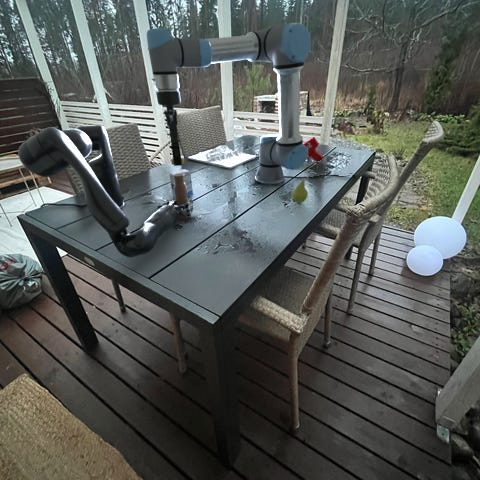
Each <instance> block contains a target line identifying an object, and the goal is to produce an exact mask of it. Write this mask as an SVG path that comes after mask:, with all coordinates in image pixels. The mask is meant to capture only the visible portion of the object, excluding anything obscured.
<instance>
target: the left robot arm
mask: <svg viewBox="0 0 480 480" xmlns="http://www.w3.org/2000/svg"><path fill="white" fill-rule="evenodd" d="M17 151H18V152H17V154H18V158H19V161H20V163H21V164H22V165H23V167H24V168H25V169H26V170H27V171H29V172H31V173H32V174H34V175H36V176H39V177H43V178H52V177H54V176H56V175H58V174H60V173H61V172H62V171H64V170H66V169H67V168H69V167H71V169H73V170H74V171H75V173H76V174H77V176H78V178H79V180H80V182H81V186H82V188H83V189H82V190H83V194H84V198H85V204H77V203H52V202H45V203H42V204H41V205H40V206H39V208H40V209H41V208H43V207H45V206H55V207H56V206H57V207H61V206H65V207H66V206H67V207H68V206H69V207H79V208H84V207H86V208H87V210H88V212H89V213H90V215H91V217H92V218H93V220H95V221H96V222H97V223H98V224H99V226H100V227H102V229H103V230H105V231H106V232H107V234H108V236H109V238H110V240H111V242H112V243H113V245H114V247H115V249H116V250H117V251H118V253H119V254H120V255H121V256H124V257H126V258H134V257H138V256H142V255H145V254H147V253H149V252H151V250H153V248H154V247H155V246H156V244H157V242H158V241H159V239H160V238H161V237H162V236H163V235H164V234H165V233H166V232H168V231H169V230H170V229H171V228H172V227H173V226H174V225H175V224H176V223H177V222H178V221H179V220H180V219H179V217H180V216H182V215H183V214H187V216H190V217H191V216H192V213H193V211H194V206H193V205H194V201H193V199H192V198H188V201H187V202H186V203H184V204H183V203H181V204H179V205H176V199H175V198H174V199H173V200H165V201H164V202H161V203H159V204H158V205H157V206H156V207H157V210H156V211H154V212H153V213H152V214H151V215H150V216H149V217H148V218H147V219H146V220H145V221H143V222H142V223H141V224H140V226H139V229H138V230H137V231H134V232H131V233H130V232H129V231H128V229H127V228H128V227H129V226H130V222H131V221H130V219H129V217H128V216H127V215H126V213H125V212H124V211H123V210H122V208H124V207H125V202H124V200H125V197H124V196H123V194H122V190H121V186H120V183H119V182H120V181H119V179H118V175H117V171H116V167H115V165H114V164H115V163H114V160H113V159H114V158H113V155H112V151H111V146H110V141H109V136H108V133H107V130H106V128H105V127H104V126H103V125H101V124H95V125H93V124H91V125H79V126H76V127H75V128H68V129H67V128H66V129H63V130H60V129H58V128H56V127H53V126H48V127H46V128H44V129H42V130H41V131H39V132H38V133H35V134H34V135H33V136H31V137H30V138H28V139H26V140H25V141H23V142H22V143H21V145H19V147H18V150H17ZM92 152H100V155H99V156H97V157H95V158H93V159H91V160H89V161H88V163H87V161H86V159H85V158H87V157H88V156H89V155H90V154H91V153H92ZM185 206H186V208H185Z"/></svg>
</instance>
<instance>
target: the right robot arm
mask: <svg viewBox="0 0 480 480" xmlns="http://www.w3.org/2000/svg"><path fill="white" fill-rule="evenodd" d="M310 33H311V32H310V31H309V29H308V28H307V27H306V25H304V24H303V23H300V22H290V23H289V22H288V23H285V24H279V25H272V26H269V27H266V28H263V29H259V30H256V31H249V32H247V33H246V34H245V35H236V36H224V37H223V36H222V37H214V38H213V37H211V38H199V37H198V38H178V37H175V36H174V33H173V30H172V29H170V28H163V27H161V28H160V27H157V28H156V27H155V28H150V29H148V30H147V31H146V41H147V42H146V43H147V51H148V55H149V60H150V66H151V72H152V77H153V78H151V82H152V83H154V89H155V90H156V92H155V97H156V103H157V104H158V105H159V106H165V107H166V109H164V110H163V112H164V113H163V114H164V117H165V120H166V125H167V126H168V130H169V139H170V145H169V148H171V154H172V157H173V160H174V165H173V166H174V167H180V166H183V164H182V161H181V156H182V154H181V148H180V143H181V139H179V134H178V127H177V126H178V111H177V109H174V105H180V104H181V103H182V99H181V92H180V91H179V89H180V82H179V73H178V69H181V68H183V69H185V68H187V69H189V68H190V69H191V68H192V69H193V68H200V69H203V68H208V67H209V66H211V64H219V63H227V62H236V61H244V60H248V61H249V62H251V63H253V62H263V63H264V62H265V63H273V71H274V72H275V73H276V74H277V90H278V91H277V93H278V116H279V117H278V119H279V133H278V134H277V133H276V134H266V135H262V136H260V139H259V143H258V145H259V153H258V157H259V158H258V167H257V171H256V174H255V177H254V181H255V183H258V184H259V185H262V186H263V185H264V186H279V185H281V184H283V183H284V181H285V179H295V180H299V179H300V180H304V179H306V178H307V176H291V175H284V172H283V171H284V170H283V168H285V169H286V170H290V171H296V170H299V169H300V168H302V167H303V165H304V164H305V162H306V161H307V159H308V158H307V156H308V149H307V148H306V146H305V145H303V143H304V142H303V141H304V138H303V136H302V135H301V134H300V112H301V111H300V110H301V109H300V108H301V105H300V104H301V89H300V88H301V71H302V70H303V68H304V67H305V61H306V59H308V57H309V54H310V53H311V49H312V37H311V34H310ZM325 174H326V175H321V174H318V175H319V176H316V175H312V176H313V177H309V178H307V179H313V178H320V177H329V176H330V177H336V178H346V177H348V176H350V175H348V176H339V175H340V174H334V175H329V174H330V173H325ZM349 174H353V173H349ZM351 176H352V177H356V174H354V175H351Z"/></svg>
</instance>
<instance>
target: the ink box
mask: <svg viewBox="0 0 480 480" xmlns="http://www.w3.org/2000/svg"><path fill="white" fill-rule="evenodd" d="M178 173H181V174H183V176H184V177H183V178H184V182H185V185H186V187H187V196H188V197H191V196H193V195H194V191H193V190H194V189H193V181H192V175H191V173H192V172H191V170H188V169H185V168H183V169H178V170H175V171H172V172H169V173H168V174H169V182H170V187H171V194H172V198H174V200H175V199H176V198H175V191H174V184H175V178H174V175H175V174H178Z"/></svg>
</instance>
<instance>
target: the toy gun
mask: <svg viewBox="0 0 480 480" xmlns="http://www.w3.org/2000/svg"><path fill="white" fill-rule="evenodd" d="M319 144H320V142H319V141H318V140H317V139H316V137H315V136H312V137H311V138H309V139H307V140H306V141H304V142H303V145H305V146H306V148H307V149H308V156H307V159H309V158H310V157H311V158H312V159H313V160H314V161H315V162H316V161H320V160H321V162H322V161H323V158H324V156H323V154H322V153H320V152H319V151H318V150H317V148H318V147H319ZM315 164H319V162H316V163H315Z"/></svg>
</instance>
